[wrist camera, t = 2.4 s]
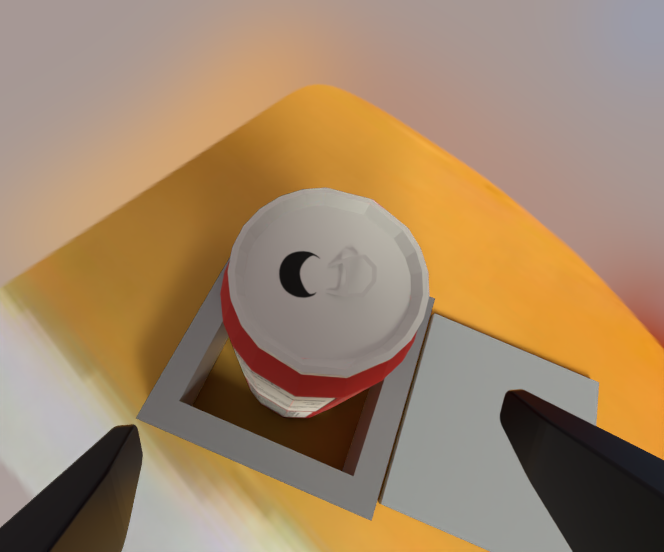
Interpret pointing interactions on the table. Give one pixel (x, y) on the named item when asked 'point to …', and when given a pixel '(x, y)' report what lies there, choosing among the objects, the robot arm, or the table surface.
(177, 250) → the table surface
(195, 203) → the table surface
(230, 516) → the table surface
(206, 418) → the collar
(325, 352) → the soda can
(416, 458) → the mat
